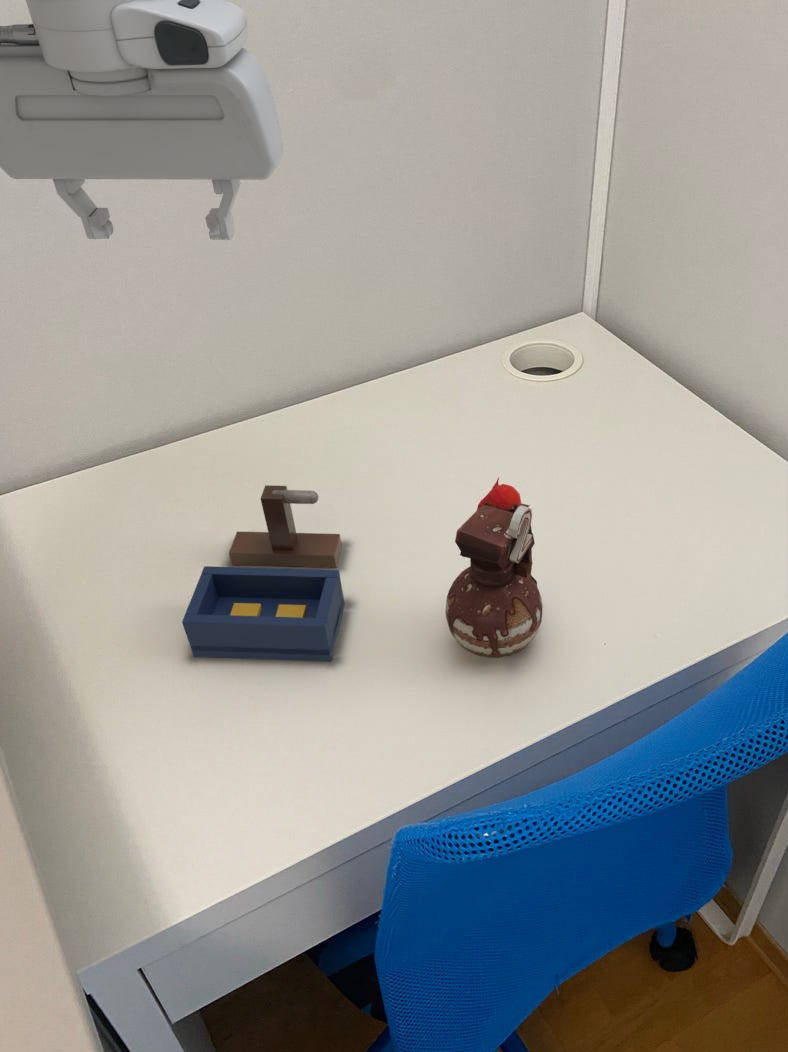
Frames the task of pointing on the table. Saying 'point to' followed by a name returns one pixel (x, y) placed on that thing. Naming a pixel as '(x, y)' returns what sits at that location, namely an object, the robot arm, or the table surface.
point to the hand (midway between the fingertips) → (162, 236)
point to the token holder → (265, 613)
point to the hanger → (285, 535)
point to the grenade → (496, 578)
